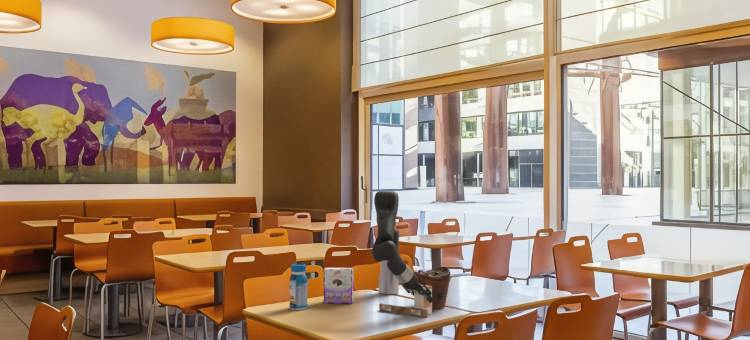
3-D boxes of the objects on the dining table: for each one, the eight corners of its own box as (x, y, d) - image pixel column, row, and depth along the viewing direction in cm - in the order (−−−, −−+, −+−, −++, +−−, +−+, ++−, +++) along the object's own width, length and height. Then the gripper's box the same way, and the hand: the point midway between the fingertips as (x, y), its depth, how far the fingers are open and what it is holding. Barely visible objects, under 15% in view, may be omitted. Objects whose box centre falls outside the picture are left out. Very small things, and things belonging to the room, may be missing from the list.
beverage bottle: (304, 310, 289) (304, 266, 289) (286, 310, 291) (286, 265, 291) (310, 307, 297) (310, 263, 298) (292, 306, 299) (292, 263, 299)
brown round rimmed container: (403, 308, 294) (404, 268, 294) (421, 300, 312) (421, 263, 312) (439, 312, 286) (440, 272, 286) (455, 305, 304) (456, 267, 304)
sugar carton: (422, 315, 280) (422, 287, 280) (414, 313, 285) (414, 285, 285) (432, 313, 284) (432, 286, 284) (423, 311, 288) (423, 284, 288)
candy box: (353, 301, 310) (353, 267, 310) (352, 304, 304) (352, 269, 304) (325, 301, 311) (325, 266, 311) (323, 303, 305) (323, 268, 306)
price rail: (379, 310, 290) (379, 304, 290) (380, 310, 291) (380, 303, 291) (425, 317, 276) (425, 310, 276) (427, 316, 277) (427, 309, 277)
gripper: (421, 271, 274) (441, 295, 281) (399, 267, 285) (419, 290, 292) (411, 285, 271) (432, 309, 278) (390, 280, 282) (410, 303, 289)
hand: (425, 299), depth 285 cm, fingers open, 8 cm apart
